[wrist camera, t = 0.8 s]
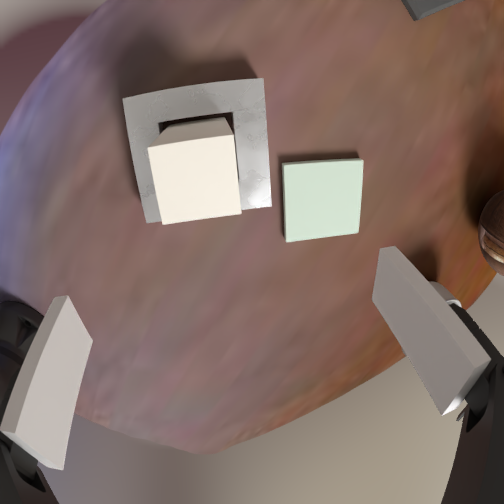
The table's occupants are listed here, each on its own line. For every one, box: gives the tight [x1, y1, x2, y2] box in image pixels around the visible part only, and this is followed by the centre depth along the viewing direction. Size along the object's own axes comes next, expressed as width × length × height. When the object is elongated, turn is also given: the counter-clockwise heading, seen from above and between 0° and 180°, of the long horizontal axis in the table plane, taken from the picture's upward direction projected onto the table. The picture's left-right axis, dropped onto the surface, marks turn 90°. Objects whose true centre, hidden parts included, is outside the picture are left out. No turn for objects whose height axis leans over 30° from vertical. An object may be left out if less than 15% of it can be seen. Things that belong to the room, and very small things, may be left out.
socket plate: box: [123, 78, 272, 223], centre depth 31 cm, size 14×14×3 cm
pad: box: [282, 158, 363, 242], centre depth 37 cm, size 10×10×1 cm
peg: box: [148, 117, 241, 225], centre depth 27 cm, size 6×6×13 cm
